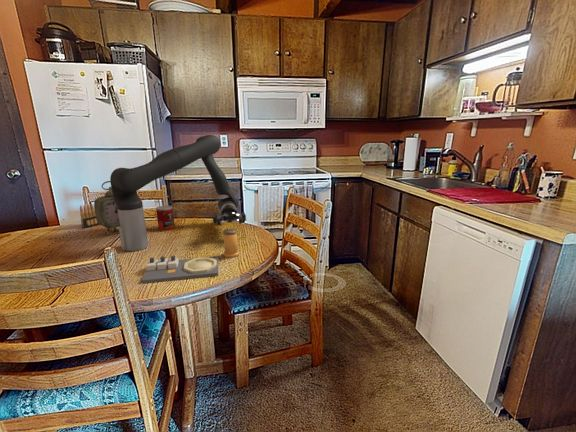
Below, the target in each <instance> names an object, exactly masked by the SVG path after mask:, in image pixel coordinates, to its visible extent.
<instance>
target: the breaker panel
mask: <svg viewBox="0 0 576 432" xmlns="http://www.w3.org/2000/svg"><path fill="white" fill-rule="evenodd" d="M145 268H146V271H145V273H144V275H143V276H142V278H141V284H147V283H148V284H149V283H156V282H157V283H158V282H167V281H178V280H185V279H196V278H197V279H198V278H207V277H208V278H209V277H217V276H218V277H219V256H210V257H208V256H205V257H196V258H187V259H179V257H176V255H171V256H170V258H166V257H165V256H160V258H159V260H158V258H157V259H155V257H150V258H149V259H148V262H147V263H146V265H145Z"/></svg>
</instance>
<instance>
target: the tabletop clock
mask: <svg viewBox="0 0 576 432" xmlns="http://www.w3.org/2000/svg"><path fill="white" fill-rule="evenodd" d="M107 183H108V184H109V183H111V182H110V180H107V181H104V182H103V183H102V184H101V188H102V189H103V190H104V191H106V192H105V194H104V196H99V197H97V198H95V199H94V202H93V203H94V204H93V207H94V210H95V216H96V219H97V221H98V223H99V224H100V225H99V226H102V227H104V228H106V229H107V231H106V232H105V235H106V236H110V234H111V233H110V229H112V230H113V232H115V231H117V230H118V229H117V228H120V221H119V215H118V209H117V205H116V203H115V201H114V198H113V193H112V188H111V186H109V187H108V188H105V187H104V185H105V184H107Z"/></svg>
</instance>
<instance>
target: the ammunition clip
mask: <svg viewBox="0 0 576 432" xmlns="http://www.w3.org/2000/svg"><path fill="white" fill-rule="evenodd" d="M79 210H80V212H79V213H80V221H81V228H82V229H83V228H86V229H90V228H94V227H97V226H101V225H100V224H99V223H98V221H97V219H96V216H95V210H94V204H93V203H90V204H89V203H87V206H86V204H83V206H82V205H79ZM93 226H94V227H93ZM89 227H90V228H89Z"/></svg>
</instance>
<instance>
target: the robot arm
mask: <svg viewBox="0 0 576 432" xmlns="http://www.w3.org/2000/svg"><path fill="white" fill-rule="evenodd" d="M221 143H222V142H221V140H220V139H219V137H217V136H216V135H214V134H206V135H202V136H198V137H197V138H196V140H195V142H193V143H190V144H189V143H188V144H186V145H181V146H176V147H175V148H171V149H168V150H166V151H163V152H161V153H159V154H158V155H156V156H155V157H154V158H153V159H151V161H149V162H147V163H145V164H141V165H139V166H136V167H131V168H129V167H128V168H127V167H118V168H115V169H114V170H113V171H112V172H111V174H110V176H109V177H110V180H109V181H110V182H109V183H110V187H111V188H112V193H113V198H114V201H115V203H116V205H117V209H118V215H119V221H120V227H118V232H119V237H120V244H121V250H122V251H123V252H124V251H126V252H135V251H136V252H138V251H140V250H145V249H146V248H148V247H149V240H148V234H147V233H148V232H147V226H146V225H147V224H146V219H145V218H146V217H145V213H144V206H143V205H144V204H143V200H142V199H141V198H140V196H139V195H138V192H137V191H139V190H140V189H142V188H144V187H145V186H147V185H149V184H150V183H152V182H154V181H155V180H158V179H161V178H163V177H165V176H167V175H169V174H172V173H175V172H177V171H180V170H181V169H183V168H185V167H187V166H188V165H190V164H192V163H194V162H196V161H198V160H199V159H201V160H202V163H203V164H204V166H205V168H206V170H207V171H208V174H209V177H210V178H211V181H212V182H213V186H214V188H215V192H216V194H217V195H218V196H225V195H226V196H227V197H224V198H220V200H219V199H218V202H217V207H218V209H219V211H220V214H219V215H218V214H216V213H215V214H213V215H212V221H213V222H212V224H217V225H218V226H221V225H222V224H224V223H234V222H236V223H237V222H238V223H239V224H240V225H241V224H243V221H244V222H246V221H247V214H246V213H245V212H243V211H242V212H241V213H238V210H237V209H238V207H239V206H240V205H239V204H240V203H239V200H238V198H237V197H236V196H235V194H234V193H233V192H232V190H231V187H230V185H229V182H228V179H227V176H226V175H225V173H224V172H223V170H222V169H221V168H220V167H219V165H218V164H217V162H216V160H215V158H214V154H216V153H218V152H219V150H220V149H221V145H222V144H221Z"/></svg>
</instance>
